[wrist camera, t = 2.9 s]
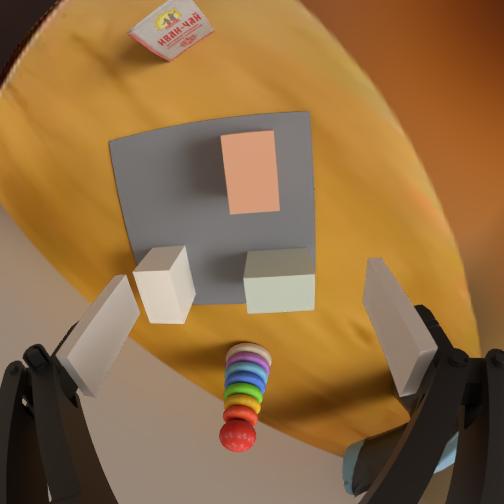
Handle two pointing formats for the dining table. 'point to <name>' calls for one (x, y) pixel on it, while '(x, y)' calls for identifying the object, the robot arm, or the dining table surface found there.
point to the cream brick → (165, 284)
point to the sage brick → (279, 281)
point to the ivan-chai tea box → (172, 28)
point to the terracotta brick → (251, 171)
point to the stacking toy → (243, 394)
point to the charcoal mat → (213, 198)
